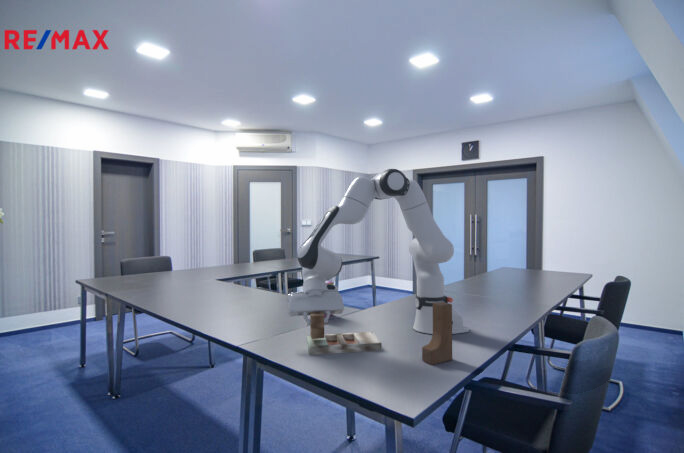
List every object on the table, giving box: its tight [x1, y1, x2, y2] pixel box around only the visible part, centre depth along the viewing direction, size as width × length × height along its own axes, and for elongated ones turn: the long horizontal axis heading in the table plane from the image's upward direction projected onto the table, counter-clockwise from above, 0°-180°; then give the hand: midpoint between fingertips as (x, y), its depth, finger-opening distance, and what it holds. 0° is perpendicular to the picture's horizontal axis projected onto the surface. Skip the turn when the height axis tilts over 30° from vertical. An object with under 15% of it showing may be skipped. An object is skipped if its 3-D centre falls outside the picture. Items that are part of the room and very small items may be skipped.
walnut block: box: [309, 312, 325, 339], centre depth 122 cm, size 4×4×8 cm
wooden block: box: [421, 302, 453, 366], centre depth 110 cm, size 9×4×18 cm, turn 118°
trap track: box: [306, 331, 382, 356], centre depth 123 cm, size 25×13×2 cm, turn 100°
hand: (317, 324), depth 121 cm, fingers closed on walnut block, 4 cm apart
